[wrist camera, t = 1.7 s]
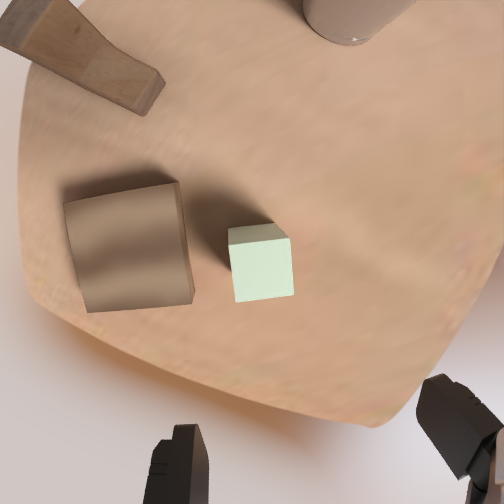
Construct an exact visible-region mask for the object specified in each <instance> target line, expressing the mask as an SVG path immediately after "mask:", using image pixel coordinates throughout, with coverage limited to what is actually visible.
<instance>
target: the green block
mask: <svg viewBox="0 0 504 504" xmlns="http://www.w3.org/2000/svg"><path fill="white" fill-rule="evenodd" d="M228 246H229V254H230V262H231V270H232V277H233V285H234V293H235V300H236V302H244V301H252V300H259V299H267V298H275V297H282V296H289V295H294V290H293V275H292V261H291V247H290V238H289V237H288V236H287V235H286V234H285V232H284V231H283V230H282V229H281V228H280V227H279V226H278V225H277V224H276V223H269V224H260V225H251V226H243V227H234V228H228Z"/></svg>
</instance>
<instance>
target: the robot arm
mask: <svg viewBox="0 0 504 504" xmlns="http://www.w3.org/2000/svg"><path fill="white" fill-rule="evenodd" d="M417 1H418V0H303V6H302V8H303V14H304V16H305V18H306V20H307V22H308V23H309V25H310V26H311V27H312V28H313V29H314V30H315V31H316V32H317V33H318V34H320V35H321V36H322V37H324V38H326V39H328V40H330V41H332V42H335V43H338V44H342V45H359V44H362V43H364V42H366V41H368V40H369V39H370V38H371V37H372V36H374V35H375V34H376V33H377V32H379V31H380V30H381V29H382V28H384V27H385V26H386V25H387V24H389V23H390V22H391V21H392V20H394V19H395V18H396V17H398V16H399V15H400V14H401V13H403V12H404V11H405V10H407V9H408V8H409V7H410V6H412V5H413V4H414V3H416V2H417ZM416 416H417V420H418V423H419V424H420V426H421V427H422V429H423V430H424V431H425V433H426V434H427V436H428V437H429V438H430V440H431V441H432V442H433V444H434V446H435V447H436V449H437V450H438V451H439V453H440V454H441V456H442V457H443V458H444V460H445V462H446V463H447V465H448V466H449V467H450V469H451V470H452V472H453V473H454V475H455V476H456V478H457V479H458V480H460V479H462V478H464V477H465V476H467V475H469V476H470V477H471V479H470V481H469V484H468V491H467V497H466V502H465V504H504V425H503V424H502V423H501V422H500V420H498V418H497V417H496V416H495V415H494V414H493V413H492V412H491V411H490V410H489V409H488V408H487V407H486V406H485V405H484V404H483V403H481V401H480V400H479V399H478V398H477V397H475V395H474V394H473V393H472V392H471V391H470V390H469V389H468V387H466V386H464V385H462V384H460V383H458V382H454V383H453V382H452V381H451V379H449V377H448V376H447V375H445V374H439V375H436V376H434V377H431V378H428V379H426V380H424V382H423V385H422V389H421V393H420V397H419V401H418V404H417V408H416ZM208 489H209V460H208V454H207V450H206V447H205V444H204V441H203V438H202V435H201V432H200V429H199V426H198V424H184V425H175V426H174V430H173V436H172V440H161V441H160V442H159V443H158V445H157V446H156V447H155V449H154V450H153V453H152V458H151V465H150V469H149V476H148V479H147V483H146V489H145V494H144V500H143V504H208V491H209V490H208Z"/></svg>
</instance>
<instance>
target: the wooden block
mask: <svg viewBox="0 0 504 504" xmlns="http://www.w3.org/2000/svg"><path fill="white" fill-rule="evenodd" d="M0 46H2V47H4V48H6V49H9V50H11V51H13V52H15V53H17V54H19V55H21V56H23V57H25V58H27V59H29V60H31V61H33V62H35V63H37V64H39V65H41V66H43V67H45V68H47V69H49V70H51V71H52V72H54V73H56V74H58V75H60V76H62V77H64V78H66V79H68V80H70V81H71V82H73V83H75V84H77V85H79V86H81V87H83V88H84V89H86V90H89V91H91V92H93V93H95V94H97V95H99V96H101V97H103V98H106V99H108V100H110V101H112V102H114V103H116V104H118V105H120V106H122V107H124V108H126V109H128V110H130V111H132V112H134V113H136V114H138V115H140V116H145V115H146V114H147V113H148V111H149V109H150V108H151V106H152V105H153V103H154V101H155V100H156V98H157V97H158V95H159V93H160V92H161V90H162V89H163V87H164V86H165V83H166V82H165V81H164V79H163V78H162V76H161V75H160V73H159V72H158V71H157V70H156V69H154V68H152V67H150V66H148V65H146V64H144V63H142V62H140V61H138V60H136V59H134V58H132V57H131V56H129V55H127V54H126V53H124V52H122V51H121V50H119V49H118V48H116V47H115V46H114V45H113V44H112V43H110V42H109V41H108V40H107V39H106V38H105V37H104V36H103V35H102V34H101V33H100V32H99V31H98V30H97V29H96V28H95V27H94V26H93V25H92V24H91V23H90V22H89V21H88V19H87V18H86V17H85V16H84V15H83V14H82V13H81V12H80V11H79V10H78V9H77V8H76V7H75V6H74V5H73V4H72V3H71V2H70V1H69V0H12V1H11V3H10V4H9V6H8V7H7V9H6V10H5V12H4V13H3V15H2V16H1V18H0Z"/></svg>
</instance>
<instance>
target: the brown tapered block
mask: <svg viewBox="0 0 504 504" xmlns="http://www.w3.org/2000/svg"><path fill="white" fill-rule="evenodd" d="M63 206H64V213H65V219H66V224H67V230H68V235H69V240H70V245H71V250H72V255H73V259H74V264H75V268H76V272H77V276H78V280H79V284H80V288H81V292H82V295H83V299H84V303H85V306H86V310H87V313H93V312H107V311H120V310H133V309H145V308H156V307H167V306H177V305H187V304H192V301H193V297H194V293H195V287H194V282H193V276H192V270H191V263H190V257H189V251H188V244H187V238H186V231H185V224H184V217H183V209H182V202H181V194H180V186H179V182H176V183H169V184H162V185H156V186H150V187H144V188H138V189H132V190H127V191H121V192H116V193H111V194H105V195H100V196H95V197H90V198H86V199H81V200H76V201H72V202H68V203H63Z"/></svg>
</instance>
